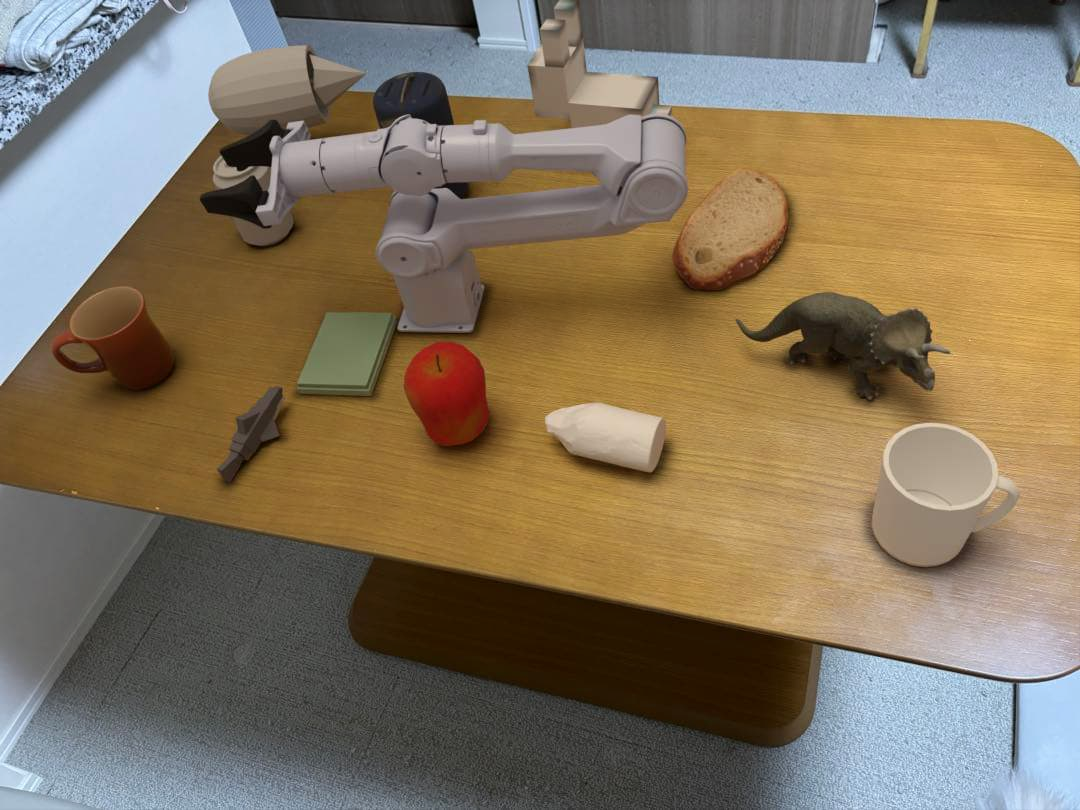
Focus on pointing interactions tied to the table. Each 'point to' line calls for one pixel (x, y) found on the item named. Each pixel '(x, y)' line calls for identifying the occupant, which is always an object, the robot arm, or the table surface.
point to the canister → (416, 107)
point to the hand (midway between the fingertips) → (214, 180)
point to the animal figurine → (253, 431)
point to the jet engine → (278, 88)
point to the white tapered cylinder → (609, 434)
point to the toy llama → (583, 78)
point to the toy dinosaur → (856, 337)
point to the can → (235, 175)
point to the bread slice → (732, 231)
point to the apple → (448, 392)
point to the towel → (347, 354)
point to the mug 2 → (935, 493)
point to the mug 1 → (118, 339)
